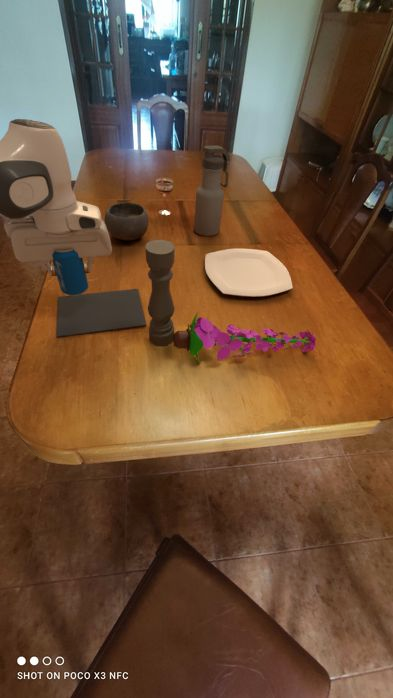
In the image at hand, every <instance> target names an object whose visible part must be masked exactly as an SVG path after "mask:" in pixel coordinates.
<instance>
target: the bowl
mask: <svg viewBox="0 0 393 698" xmlns="http://www.w3.org/2000/svg"><path fill="white" fill-rule="evenodd" d="M149 221H150V220H149V214H148V212H147V210H146V208H145V207H144V206H143V205H141V204H140V203H139V204H138V203H136V202H130V201H122V202H121V201H120V202H116V203H114V204H111V205H109V206H108V207H107V208H106V210H105V214H104V223H105V224H106V227H107V230H108V233H109V235H111V236H113V237H114V238H116V239H118V240H121V241H134V240H138V239H141V238H142V237H143V236H144V235H145V234H146V233H147V231H148V227H149Z"/></svg>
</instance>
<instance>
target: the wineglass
mask: <svg viewBox="0 0 393 698" xmlns="http://www.w3.org/2000/svg"><path fill="white" fill-rule="evenodd" d="M155 183H156V184H155V189H156V192H157V193H158V194H159V195H161V196H162V197H163V209H161V210H159V211H158V214H159V215H161V216H162V215H163V216H168V215H171V211H170V210H168V209H166V197H168V196H169V195H170V194H171V193H172V192H173V190H174V185H173V183H174V180H173V179H171V178H168V177H159V178H156V179H155Z"/></svg>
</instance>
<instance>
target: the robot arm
mask: <svg viewBox="0 0 393 698" xmlns="http://www.w3.org/2000/svg"><path fill="white" fill-rule="evenodd" d="M0 216H2V217H5V218H8V219H7V220H6V221H4V223H3V227H4V230H5V233H6V235H7V237H8V238H10V239H11V246H12V249H13V253H14V257H15V259H16V260H17V261H18V262H20V263H32V262H35V263H36V262H39V263H40V266H42V267H43V269H45V270H46V271H48V274H49V277H57V275H56V271H55V268H54V265H51V264H50V263H49V261H52V260H53V256H52V254H53V253H54V251H53V250H56V251H60V250H71V249H73V248H74V251H76V252H77V253H78V256H79V258H83V259H86V260H87V262H86V263H84V270H85V273H86V274H92V265H93V264H94V262H95V259H94V258H100V257H101V258H102V257H109V256H111V255H112V253H113V246H112V241H111V238H110V233H109V231H108V230H107V227H106V224H105V220H103V217H102V213H101V210H100V207H99V206H97V205H94V204H90V203H86V202H82V201H79V200H77V198H76V195H75V193H74V191H73V188H72V172H71V167H70V162H69V159H68V155H67V151H66V148H65V145H64V141H63V139H62V137H61V134H60V133H59V131H58V130H57V129H56V128H55V127H54V126H53V125H51V124H49V123H47V122H42V121H38V120H37V121H36V120H33V119H27V118H15V119H12V120H10V121H9V122H8V128H7V131H6V132H5V134H4V136H3V137H2V138H1V139H0Z"/></svg>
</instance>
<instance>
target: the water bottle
mask: <svg viewBox="0 0 393 698" xmlns="http://www.w3.org/2000/svg"><path fill="white" fill-rule="evenodd" d="M203 152H204V155H203V156H202V159H201V169H202V173H201V185H200V186H198V187H197V188H196V192H195V206H194V221H193V222H194V223H193V230H194V232H195V233H196V234H197V235H199V236H203V237H214V236H216V235H218V234H219V233H220V229H221V221H222V214H223V213H222V212H223V205H224V198H225V192H224V189H223V188H222V187H224V188H227V187H228V184H229V177H230V174H229V171H228V166H229V165H230V163H231V157H230V154H229V152H228V151H227V149H225V148H224V147H222V146H220V145H205V146H203ZM217 153H218V154H217ZM219 153H220V154H221V155H220V154H219ZM223 172H224V173H225V183H224V182H222V175H223V174H222V173H223ZM221 186H222V187H221Z"/></svg>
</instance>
